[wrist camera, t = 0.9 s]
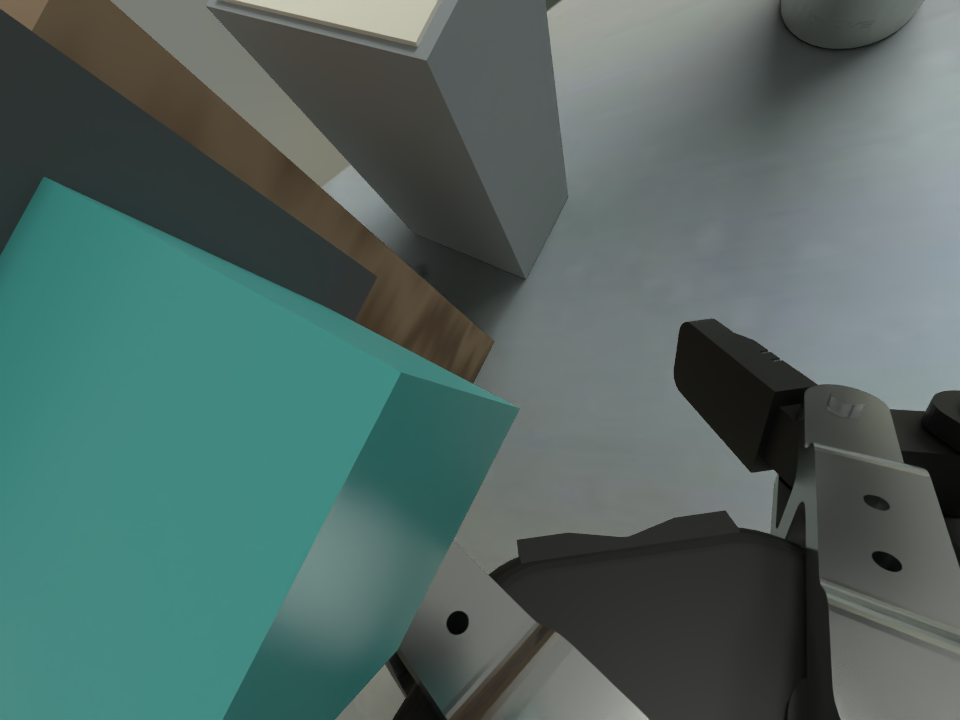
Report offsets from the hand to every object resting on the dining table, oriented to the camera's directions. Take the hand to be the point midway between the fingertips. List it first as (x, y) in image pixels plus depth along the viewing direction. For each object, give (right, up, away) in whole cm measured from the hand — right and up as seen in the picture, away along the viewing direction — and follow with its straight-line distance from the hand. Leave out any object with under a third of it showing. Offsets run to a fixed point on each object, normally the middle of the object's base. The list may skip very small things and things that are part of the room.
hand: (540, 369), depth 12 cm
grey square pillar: (-1, +13, +26) cm, 29 cm away
